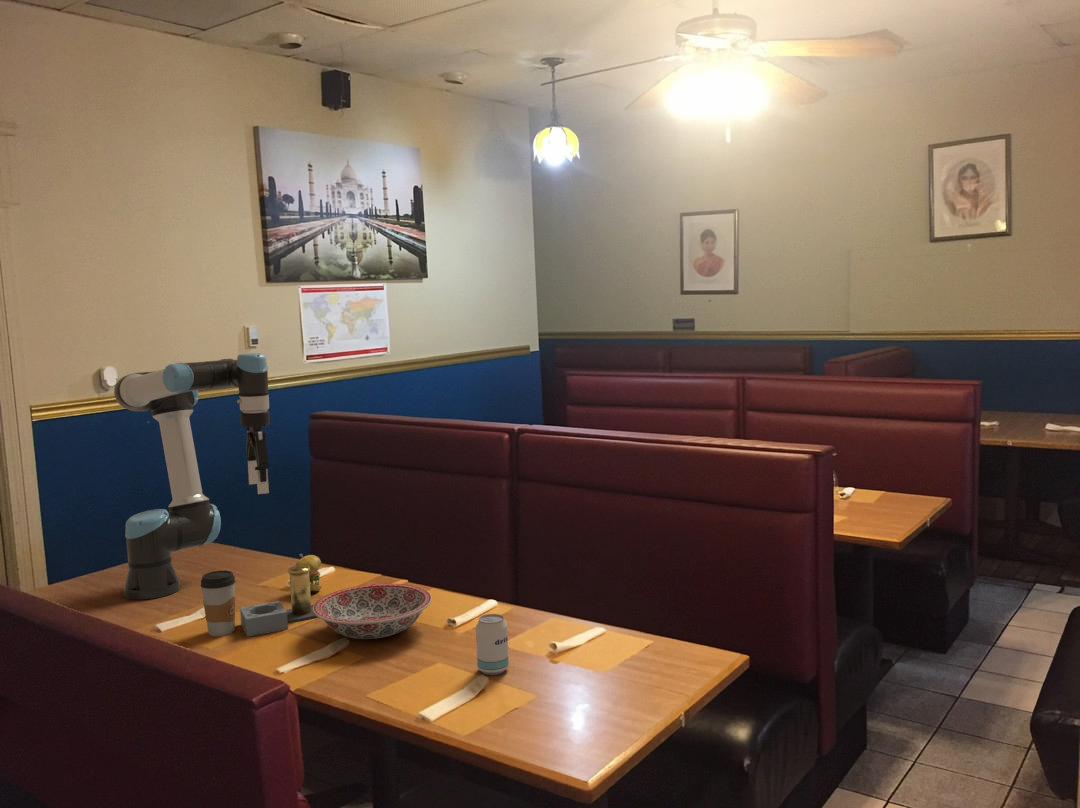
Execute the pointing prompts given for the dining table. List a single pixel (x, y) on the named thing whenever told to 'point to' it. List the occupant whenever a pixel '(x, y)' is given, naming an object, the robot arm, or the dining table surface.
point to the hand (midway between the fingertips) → (258, 488)
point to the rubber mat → (299, 616)
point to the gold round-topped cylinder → (300, 589)
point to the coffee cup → (219, 602)
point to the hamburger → (312, 570)
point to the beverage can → (492, 644)
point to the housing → (263, 618)
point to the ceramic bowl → (372, 609)
